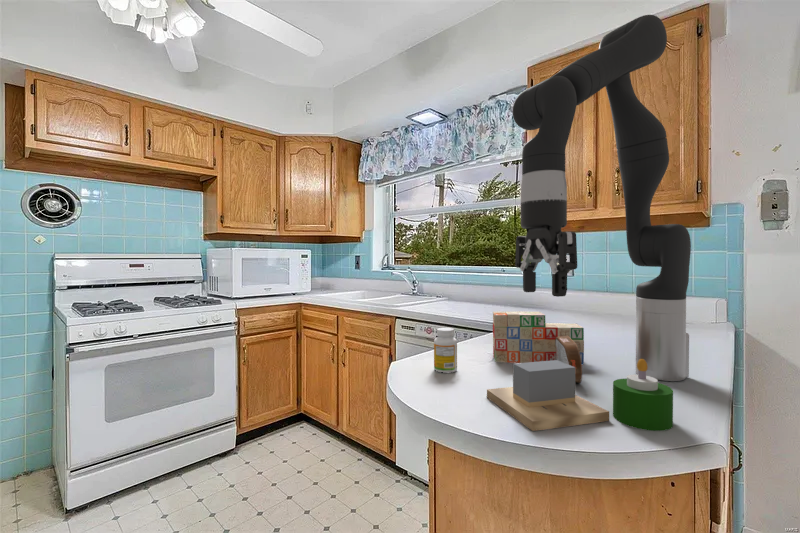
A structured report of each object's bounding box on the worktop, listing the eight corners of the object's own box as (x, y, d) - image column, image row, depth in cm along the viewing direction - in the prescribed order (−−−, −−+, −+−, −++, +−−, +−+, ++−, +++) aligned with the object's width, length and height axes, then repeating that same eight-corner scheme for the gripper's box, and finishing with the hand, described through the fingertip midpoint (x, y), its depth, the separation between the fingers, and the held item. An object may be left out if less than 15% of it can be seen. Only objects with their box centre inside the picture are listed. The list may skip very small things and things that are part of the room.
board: (551, 390, 78) (551, 382, 78) (609, 420, 63) (609, 411, 63) (486, 397, 74) (486, 389, 74) (532, 431, 60) (532, 421, 60)
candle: (686, 428, 61) (687, 363, 60) (640, 433, 59) (641, 367, 59) (642, 408, 69) (643, 351, 69) (601, 412, 67) (601, 354, 67)
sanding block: (513, 397, 70) (513, 363, 70) (556, 392, 72) (556, 360, 72) (528, 407, 65) (528, 371, 65) (575, 402, 68) (575, 367, 67)
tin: (583, 388, 79) (583, 346, 79) (566, 387, 80) (566, 346, 80) (567, 367, 94) (567, 332, 94) (553, 367, 95) (553, 332, 94)
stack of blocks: (576, 359, 102) (577, 311, 102) (584, 365, 96) (584, 315, 96) (492, 356, 106) (492, 310, 105) (494, 362, 99) (494, 313, 99)
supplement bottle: (441, 365, 96) (441, 326, 96) (461, 369, 93) (461, 328, 93) (429, 371, 92) (429, 329, 92) (450, 374, 89) (450, 332, 89)
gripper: (591, 194, 62) (591, 297, 62) (538, 206, 76) (538, 290, 76) (549, 193, 60) (549, 299, 61) (503, 205, 74) (503, 291, 74)
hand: (543, 294), depth 68 cm, fingers open, 8 cm apart
